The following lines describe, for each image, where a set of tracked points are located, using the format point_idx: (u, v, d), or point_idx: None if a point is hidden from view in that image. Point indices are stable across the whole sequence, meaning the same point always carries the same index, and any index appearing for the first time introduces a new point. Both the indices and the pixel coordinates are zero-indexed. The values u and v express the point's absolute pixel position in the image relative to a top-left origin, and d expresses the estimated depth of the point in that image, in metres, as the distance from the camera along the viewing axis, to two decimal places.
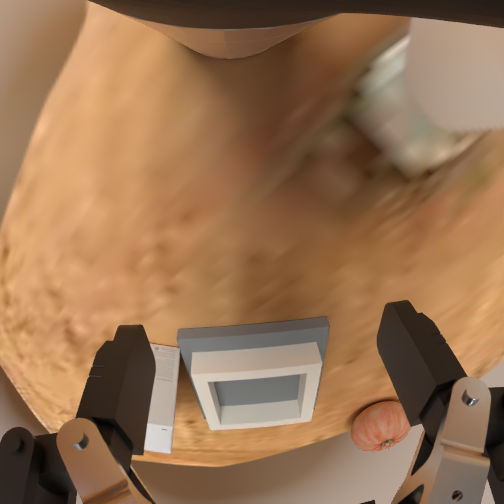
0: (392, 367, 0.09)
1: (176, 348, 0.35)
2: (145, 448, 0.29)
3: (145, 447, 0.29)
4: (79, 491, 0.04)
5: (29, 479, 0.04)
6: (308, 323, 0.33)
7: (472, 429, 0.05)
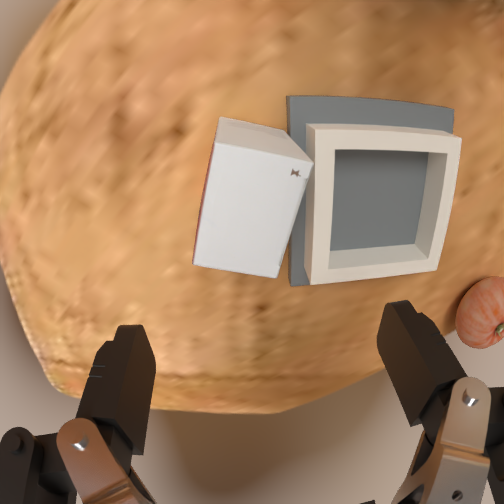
0: (392, 367, 0.09)
1: (279, 129, 0.25)
2: (233, 262, 0.20)
3: (235, 257, 0.19)
4: (79, 491, 0.04)
5: (29, 479, 0.04)
6: (432, 105, 0.24)
7: (471, 430, 0.05)
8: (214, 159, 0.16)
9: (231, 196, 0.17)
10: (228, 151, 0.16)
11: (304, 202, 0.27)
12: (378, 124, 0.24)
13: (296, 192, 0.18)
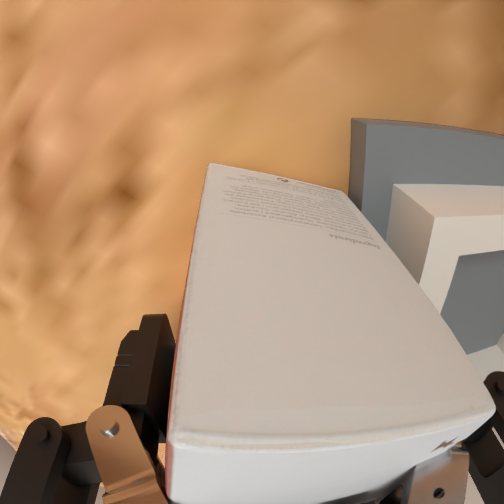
0: None
1: (335, 189, 0.12)
2: None
3: None
4: (103, 478, 0.05)
5: (52, 472, 0.05)
6: None
7: None
8: (179, 470, 0.03)
9: None
10: (238, 461, 0.03)
11: None
12: (502, 185, 0.11)
13: None
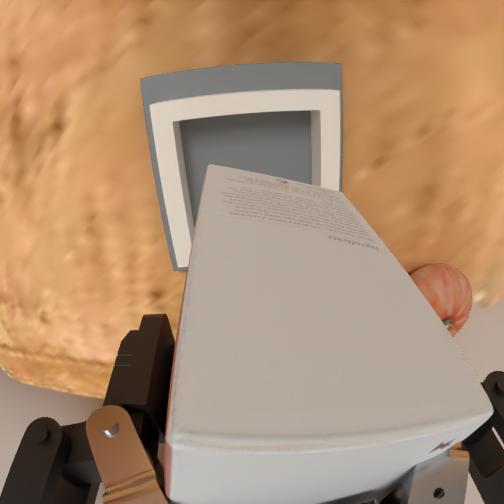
0: None
1: (334, 190, 0.12)
2: None
3: None
4: (103, 478, 0.05)
5: (52, 471, 0.05)
6: None
7: None
8: (178, 471, 0.03)
9: None
10: (235, 462, 0.03)
11: None
12: (238, 91, 0.23)
13: None
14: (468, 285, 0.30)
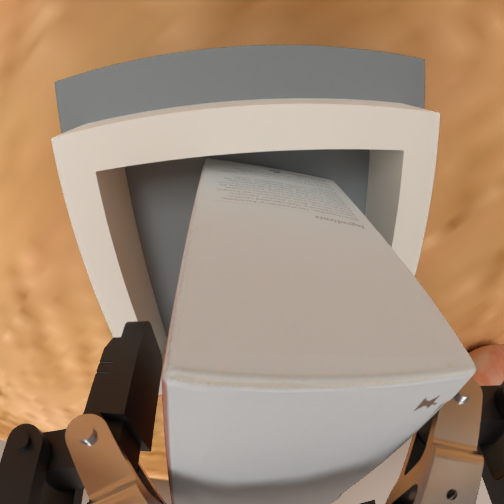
0: None
1: None
2: None
3: None
4: (86, 487, 0.05)
5: (36, 476, 0.05)
6: None
7: (464, 428, 0.05)
8: (174, 416, 0.04)
9: (243, 466, 0.05)
10: (223, 401, 0.04)
11: None
12: (235, 99, 0.11)
13: (412, 428, 0.05)
14: None
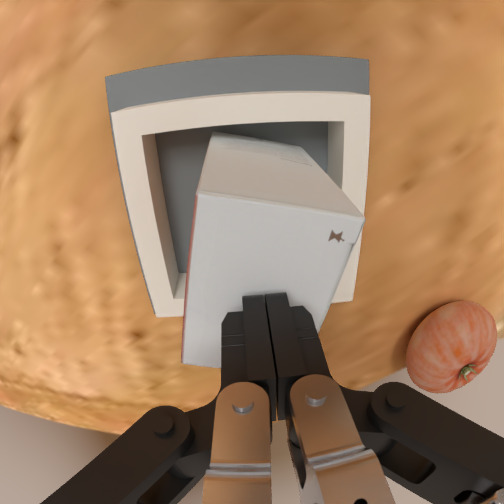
0: None
1: None
2: None
3: None
4: (213, 452, 0.06)
5: (159, 468, 0.05)
6: None
7: (335, 429, 0.06)
8: (198, 222, 0.10)
9: (232, 277, 0.11)
10: (222, 207, 0.09)
11: None
12: (233, 92, 0.17)
13: (336, 265, 0.11)
14: (494, 326, 0.24)
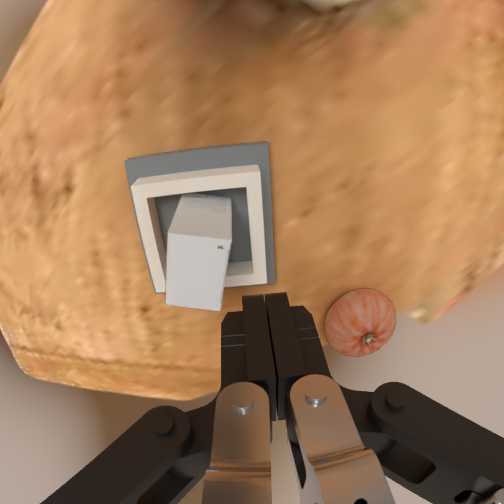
0: None
1: (227, 197, 0.36)
2: (190, 302, 0.30)
3: (190, 299, 0.30)
4: (213, 452, 0.06)
5: (159, 468, 0.05)
6: (247, 144, 0.34)
7: (335, 429, 0.06)
8: (168, 242, 0.27)
9: (182, 263, 0.28)
10: (176, 237, 0.26)
11: None
12: (192, 170, 0.34)
13: (223, 258, 0.28)
14: (389, 307, 0.40)
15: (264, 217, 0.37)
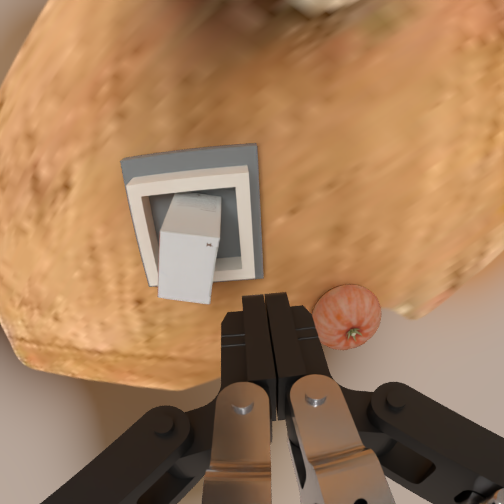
0: None
1: (218, 196, 0.37)
2: (181, 295, 0.32)
3: (181, 293, 0.31)
4: (213, 452, 0.06)
5: (159, 468, 0.05)
6: (237, 145, 0.35)
7: (335, 429, 0.06)
8: (161, 240, 0.28)
9: (173, 259, 0.29)
10: (168, 235, 0.28)
11: None
12: (185, 170, 0.36)
13: (211, 255, 0.30)
14: (374, 302, 0.43)
15: (253, 215, 0.39)
